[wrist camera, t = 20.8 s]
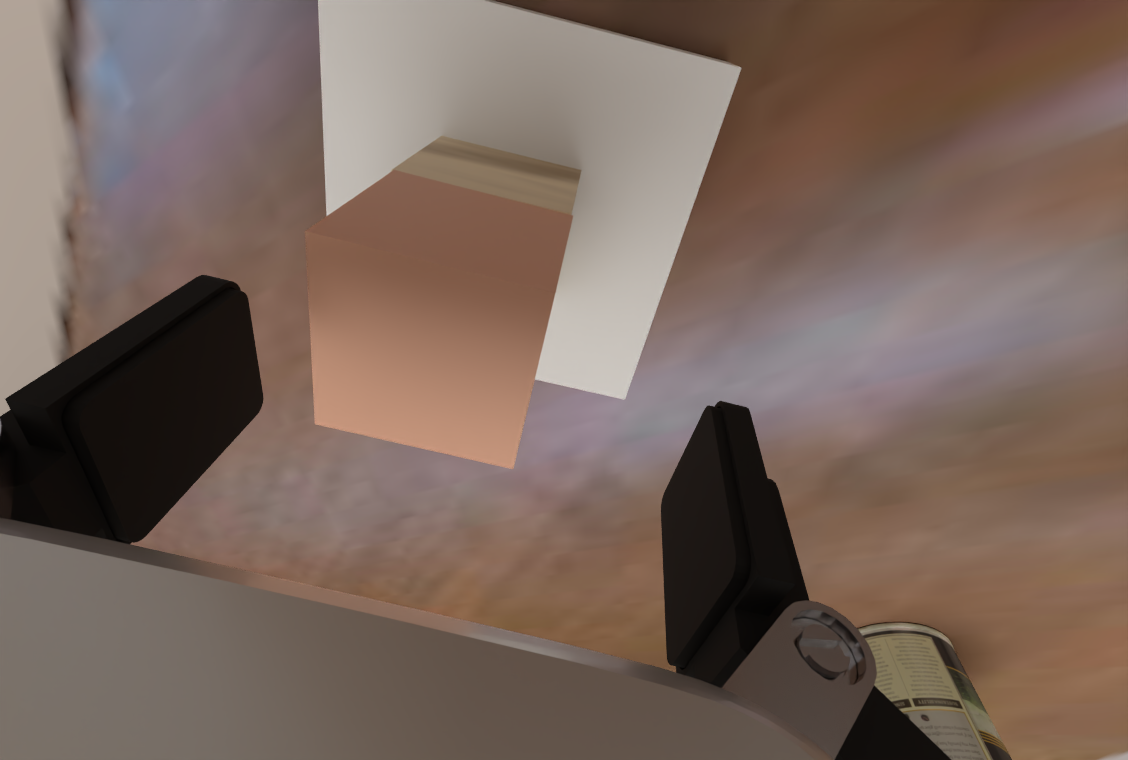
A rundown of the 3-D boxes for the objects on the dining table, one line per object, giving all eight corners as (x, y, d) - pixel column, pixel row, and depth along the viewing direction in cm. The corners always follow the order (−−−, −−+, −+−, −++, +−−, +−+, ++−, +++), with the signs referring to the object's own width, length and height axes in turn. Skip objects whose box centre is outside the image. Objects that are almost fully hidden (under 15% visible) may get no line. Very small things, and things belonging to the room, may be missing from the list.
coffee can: (982, 640, 43) (1116, 870, 32) (898, 697, 49) (985, 910, 37) (869, 607, 42) (964, 833, 31) (796, 669, 48) (853, 879, 36)
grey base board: (350, -37, 22) (316, -44, 19) (728, 61, 23) (741, 67, 20) (354, 307, 31) (331, 333, 28) (624, 369, 32) (624, 399, 29)
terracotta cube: (394, 169, 17) (305, 231, 13) (573, 215, 18) (555, 292, 13) (387, 327, 21) (315, 423, 16) (538, 363, 21) (513, 469, 16)
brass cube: (441, 135, 22) (391, 169, 18) (581, 170, 23) (570, 213, 18) (431, 267, 26) (386, 327, 21) (553, 296, 26) (537, 361, 21)
